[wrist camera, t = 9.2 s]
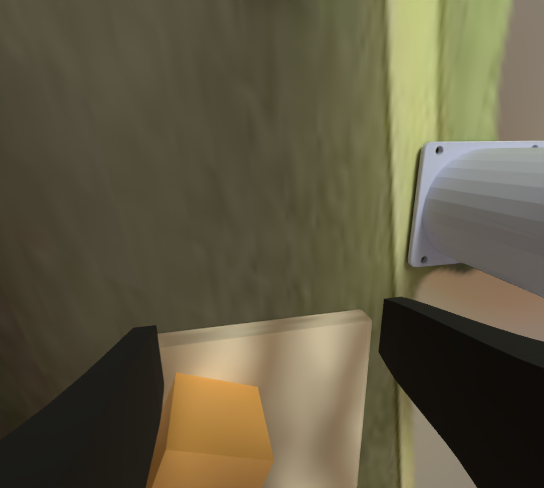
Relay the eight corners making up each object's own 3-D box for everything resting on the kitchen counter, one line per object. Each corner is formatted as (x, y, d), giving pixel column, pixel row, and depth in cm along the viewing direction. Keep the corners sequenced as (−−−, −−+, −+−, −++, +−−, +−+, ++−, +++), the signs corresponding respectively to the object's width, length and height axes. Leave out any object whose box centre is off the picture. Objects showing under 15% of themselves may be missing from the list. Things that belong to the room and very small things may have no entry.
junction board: (361, 309, 21) (410, 359, 16) (348, 469, 26) (384, 549, 21) (130, 337, 18) (101, 408, 13) (160, 512, 23) (147, 617, 18)
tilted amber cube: (257, 386, 20) (274, 460, 15) (230, 450, 21) (238, 538, 16) (176, 372, 18) (165, 449, 13) (151, 441, 19) (133, 536, 14)
